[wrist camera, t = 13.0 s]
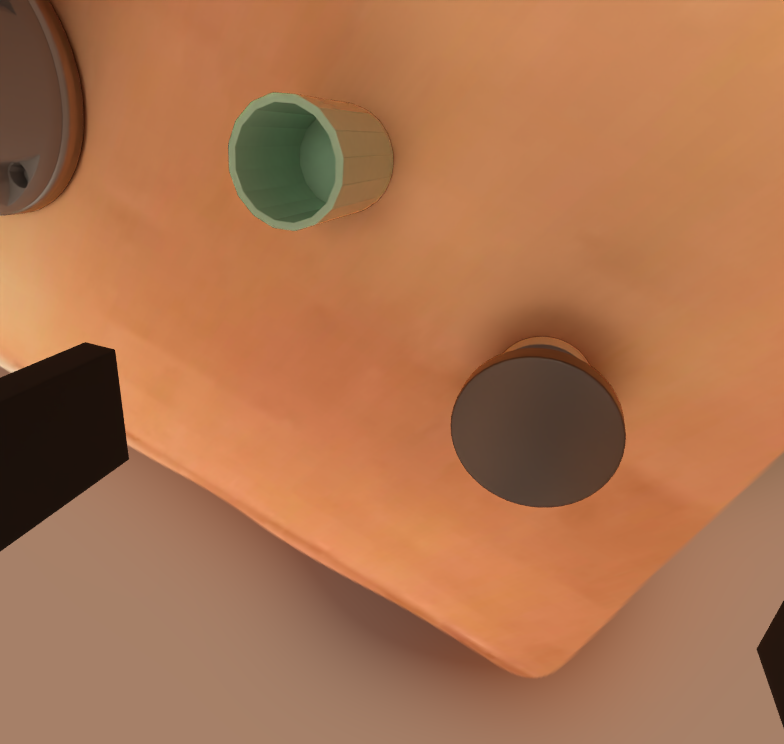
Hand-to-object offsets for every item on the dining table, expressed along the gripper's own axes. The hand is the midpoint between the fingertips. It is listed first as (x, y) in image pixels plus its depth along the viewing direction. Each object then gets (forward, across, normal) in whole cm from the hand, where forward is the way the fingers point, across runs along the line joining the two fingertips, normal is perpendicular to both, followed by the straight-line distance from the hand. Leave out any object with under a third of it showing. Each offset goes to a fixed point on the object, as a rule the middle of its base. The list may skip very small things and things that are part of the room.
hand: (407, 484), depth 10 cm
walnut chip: (+15, +3, -6) cm, 16 cm away
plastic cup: (+20, -10, +4) cm, 22 cm away
